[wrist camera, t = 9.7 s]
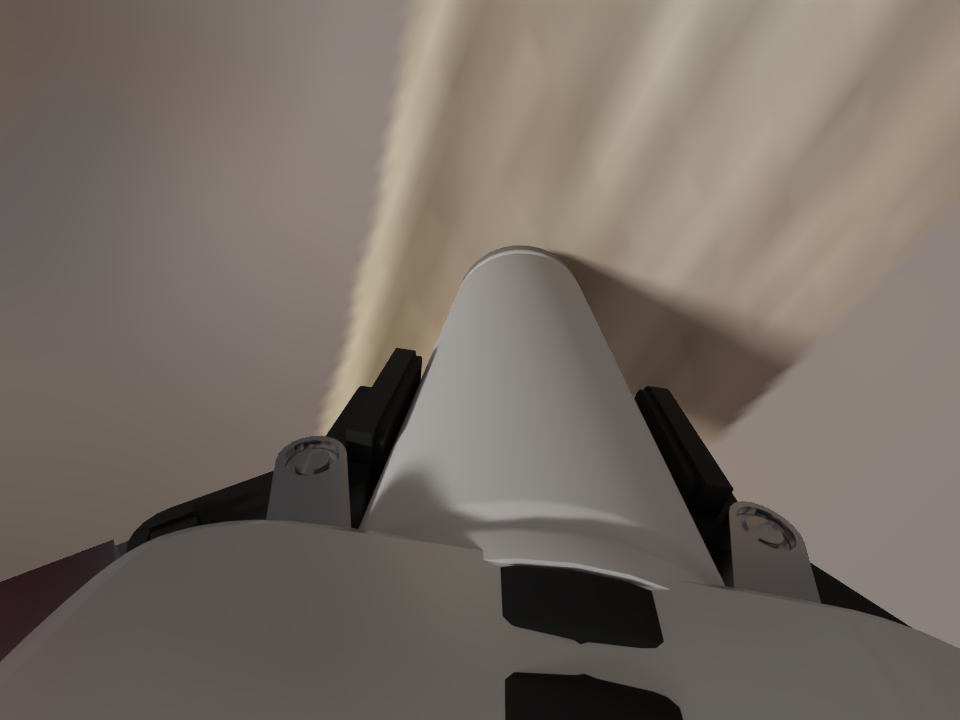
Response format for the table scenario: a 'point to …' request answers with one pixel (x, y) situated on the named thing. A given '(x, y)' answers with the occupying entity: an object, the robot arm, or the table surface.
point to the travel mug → (544, 479)
